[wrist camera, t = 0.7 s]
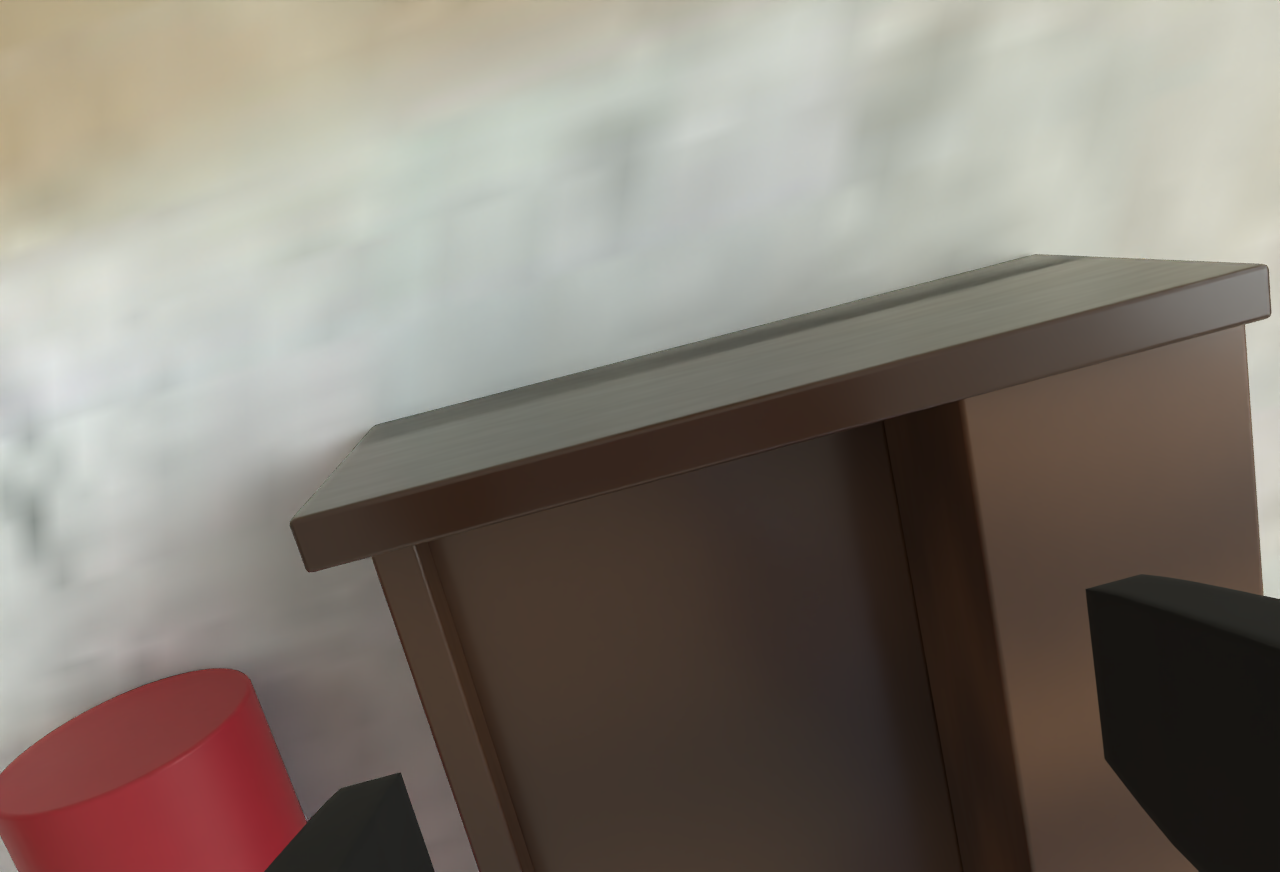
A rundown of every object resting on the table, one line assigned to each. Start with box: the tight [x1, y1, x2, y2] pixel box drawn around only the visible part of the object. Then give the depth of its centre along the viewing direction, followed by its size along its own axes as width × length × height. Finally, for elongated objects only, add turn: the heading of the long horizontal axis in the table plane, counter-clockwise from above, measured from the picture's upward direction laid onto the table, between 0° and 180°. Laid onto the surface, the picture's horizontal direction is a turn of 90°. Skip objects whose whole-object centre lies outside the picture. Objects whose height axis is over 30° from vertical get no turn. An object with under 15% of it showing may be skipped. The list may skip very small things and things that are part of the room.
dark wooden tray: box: [290, 254, 1271, 872], centre depth 17 cm, size 18×14×6 cm
